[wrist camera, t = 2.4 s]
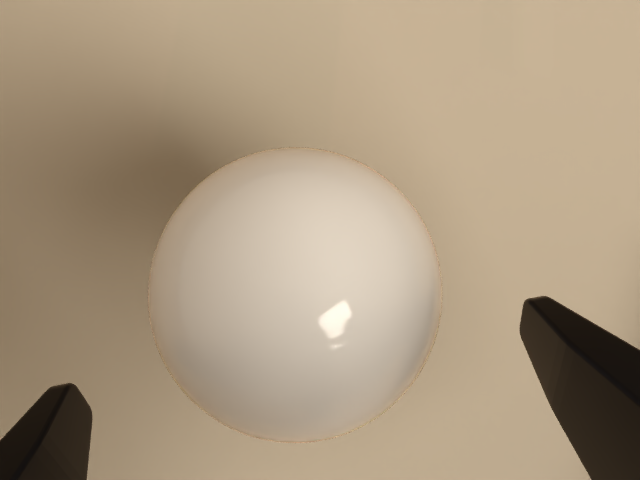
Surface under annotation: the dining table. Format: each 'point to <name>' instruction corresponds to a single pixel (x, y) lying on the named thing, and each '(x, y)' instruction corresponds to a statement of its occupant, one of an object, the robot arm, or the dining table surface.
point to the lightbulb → (295, 295)
